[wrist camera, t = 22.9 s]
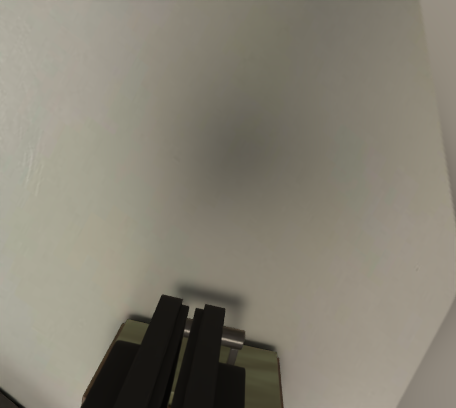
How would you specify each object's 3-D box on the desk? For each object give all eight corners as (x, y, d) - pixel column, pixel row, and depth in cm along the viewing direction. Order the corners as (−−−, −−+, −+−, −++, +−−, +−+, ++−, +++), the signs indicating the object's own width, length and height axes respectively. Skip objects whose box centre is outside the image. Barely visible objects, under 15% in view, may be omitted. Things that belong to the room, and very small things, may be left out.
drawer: (134, 276, 32) (104, 324, 26) (289, 310, 32) (298, 367, 26) (109, 433, 38) (80, 505, 31) (242, 462, 38) (240, 540, 32)
